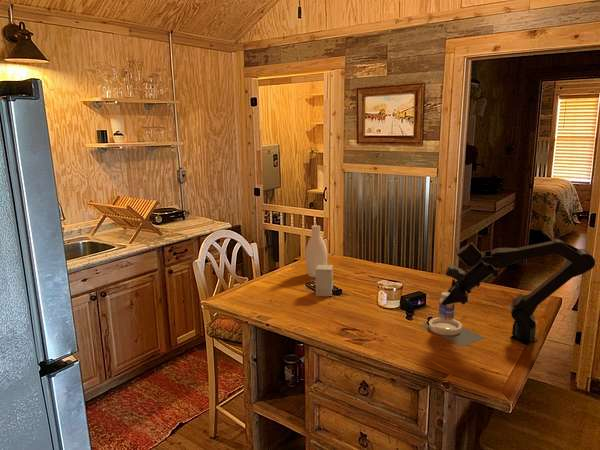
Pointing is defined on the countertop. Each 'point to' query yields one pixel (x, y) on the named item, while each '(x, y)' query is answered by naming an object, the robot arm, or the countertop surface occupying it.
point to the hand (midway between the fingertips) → (443, 301)
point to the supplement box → (324, 280)
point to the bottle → (315, 251)
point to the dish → (445, 326)
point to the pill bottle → (446, 309)
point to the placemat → (460, 336)
